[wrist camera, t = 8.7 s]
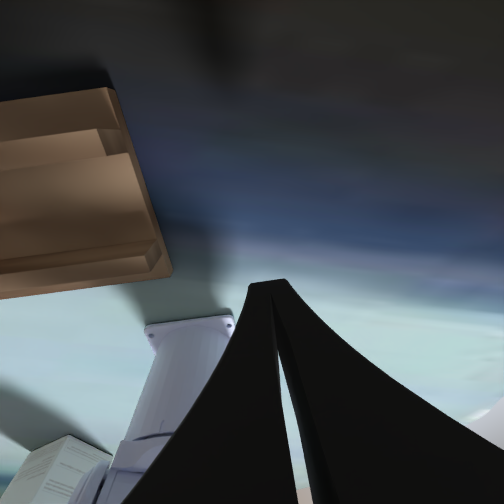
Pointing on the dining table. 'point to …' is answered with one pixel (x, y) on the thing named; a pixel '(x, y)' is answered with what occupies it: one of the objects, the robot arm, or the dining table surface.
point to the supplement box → (53, 472)
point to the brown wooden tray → (73, 197)
